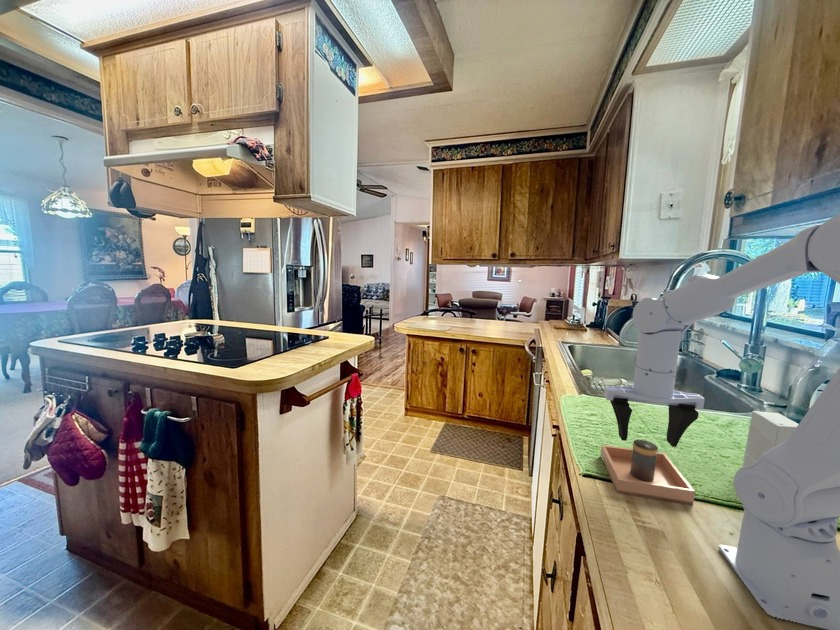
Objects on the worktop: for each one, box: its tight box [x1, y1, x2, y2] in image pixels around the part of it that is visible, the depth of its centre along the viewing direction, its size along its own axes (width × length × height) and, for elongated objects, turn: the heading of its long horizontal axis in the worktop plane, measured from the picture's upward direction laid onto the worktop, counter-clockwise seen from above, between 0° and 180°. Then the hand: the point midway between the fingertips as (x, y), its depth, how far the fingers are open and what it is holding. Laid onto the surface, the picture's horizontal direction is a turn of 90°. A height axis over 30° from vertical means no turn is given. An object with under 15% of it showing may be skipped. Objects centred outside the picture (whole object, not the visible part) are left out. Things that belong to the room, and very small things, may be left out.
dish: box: [600, 444, 696, 506], centre depth 60 cm, size 11×11×2 cm
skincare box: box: [741, 410, 799, 468], centre depth 59 cm, size 6×4×12 cm
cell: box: [630, 439, 659, 482], centre depth 60 cm, size 4×4×6 cm
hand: (646, 440), depth 59 cm, fingers open, 7 cm apart
